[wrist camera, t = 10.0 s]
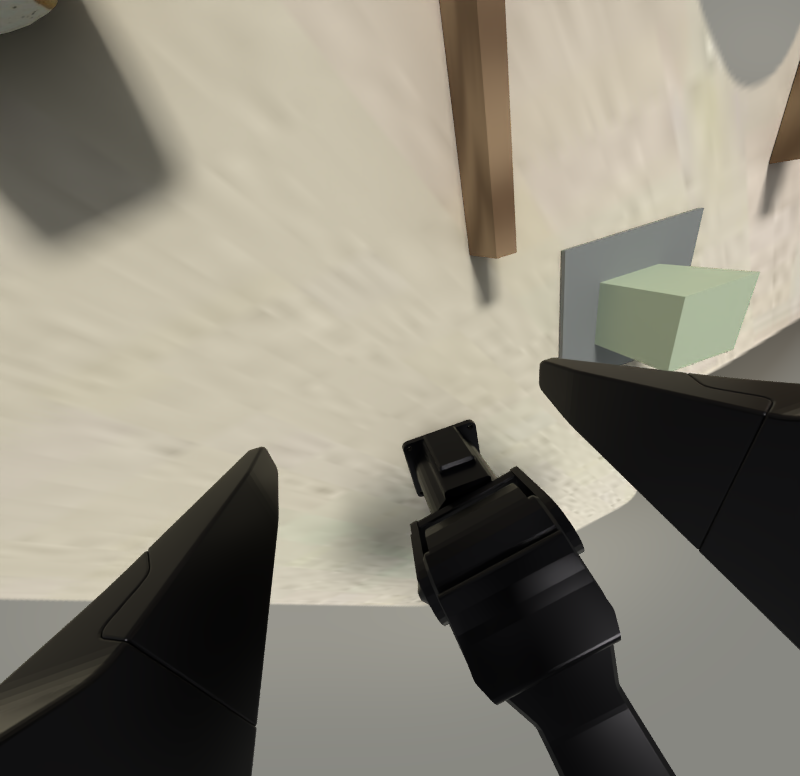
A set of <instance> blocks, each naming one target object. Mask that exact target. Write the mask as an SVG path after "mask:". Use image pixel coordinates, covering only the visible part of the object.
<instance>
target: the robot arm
mask: <svg viewBox="0 0 800 776" xmlns="http://www.w3.org/2000/svg"><path fill="white" fill-rule="evenodd" d="M539 385H540V388H541V390H542V391H543V393H544V394H545V395H546V396H547V398H548V399H549V400H550V401H551V402H552V404H553V405H554V406H555V407H556V408H557V410H558V411H559V412H560V413H561V414H562V416H563V417H564V418H565V419H566V420H567V422H568V423H569V424H570V425H571V426H572V427H573V428H574V429H575V430H576V431H577V432H578V433H579V434H580V435H581V436H582V437H583V438H584V439H585V440H586V441H587V442H588V443H589V444H590V445H591V446H593V447H594V448H595V449H596V450H597V451H598V452H599V453H600V454H601V455H602V456H603V457H604V458H605V459H606V460H607V461H608V462H609V463H610V464H611V465H612V466H613V467H614V468H615V469H616V470H617V471H618V472H619V473H620V474H621V475H622V476H623V477H624V478H625V479H626V480H627V481H628V482H629V483H630V484H631V485H632V486H633V487H634V488H635V489H636V490H637V491H638V492H639V493H640V494H642V495H643V496H644V497H645V498H646V499H647V500H648V501H649V502H650V503H651V504H652V505H653V506H654V507H655V508H656V509H657V510H658V511H659V512H660V513H661V514H662V515H663V516H664V517H665V518H666V519H667V520H668V521H669V522H670V523H671V524H672V525H673V526H674V527H675V528H676V529H677V530H678V531H679V532H680V533H681V534H682V535H683V536H684V537H685V538H687V540H688V541H690V542H691V543H692V544H693V545H694V546H695V547H696V548H697V549H699V551H700V553H701V554H702V555H704V556H705V557H706V558H707V559H708V560H709V561H710V562H711V563H712V564H713V565H714V566H715V567H716V568H717V569H718V570H719V571H720V572H721V573H722V574H723V575H724V576H725V577H726V578H727V579H728V580H729V581H730V582H731V583H732V584H733V585H734V586H735V587H736V588H737V589H738V590H739V591H740V592H741V593H742V594H743V595H744V596H745V597H746V598H747V599H748V600H749V601H750V602H752V604H754V605H755V606H756V607H757V608H758V609H759V610H760V611H761V612H762V613H763V614H764V615H765V616H766V617H767V618H768V619H769V620H770V621H771V622H772V623H773V624H774V625H775V626H776V627H777V628H778V629H779V630H780V631H781V632H782V633H783V634H784V635H785V636H786V637H787V638H789V640H790V641H791V642H792V643H793V644H794V645H795V646H796V647H797V648H798V649H799V650H800V384H798V383H784V382H773V381H761V380H750V379H738V378H728V377H719V376H709V375H701V374H692V373H689V374H687V373H683V372H674V371H666V370H657V369H649V368H640V367H631V366H623V365H614V364H605V363H597V362H588V361H579V360H571V359H562V358H550V359H547V360H544V361H542V362H541V363H540V369H539ZM468 425H470V426H469V427H468ZM408 446H411V447H410V448H407V447H408ZM402 448H403V451H404V454H405V457H406V460H407V464H408V467H409V470H410V473H411V476H412V479H413V482H414V485H415V489H416V492H417V494H418V496H420V497H422V496H425V499H426V501H427V504H428V507H429V509H430V512H431V514H430V515H429V516H427V517H425V518H423V519H421V520H419V521H415V522H413V523H411V524H410V526H411V533H412V534H411V541H412V548H413V554H414V561H415V568H416V575H417V580H418V594H419V597H420V599H421V600H422V601H423V602H425V603H427V604H429V605H430V607H431V608H432V610H433V612H434V614H435V615H436V617H437V619H438V620H439V621H440V623H441V624H442V625H444V626H445V625H448V624H450V627H451V629H452V631H453V633H454V635H455V638H456V640H457V642H458V644H459V646H460V649H461V651H462V653H463V655H464V657H465V660H466V662H467V664H468V667H469V669H470V671H471V674H472V677H473V679H474V681H475V683H476V684H477V686H478V687H479V688H480V689H481V690H482V691H483V692H484V693H485V694H486V695H487V696H488V697H489V699H490V700H491V701H492V702H493V703H494V704H496V705H498V704H500V703H502V702H504V701H507V702H508V703H509V704H510V705H511V706H512V707H513V708H515V709H516V710H517V711H518V712H519V713H520V714H522V715H523V716H524V717H525V718H526V719H527V720H528V721H529V722H531V723H532V724H533V725H534V726H535V727H536V729H537V730H538V732H539V734H540V736H541V738H542V740H543V742H544V744H545V746H546V748H547V751H548V752H549V755H550V757H551V759H552V761H553V763H554V765H555V767H556V769H557V771H558V774H559V776H676V775H675V774H674V772H673V770H672V769H671V767H670V766H669V764H668V762H667V761H666V759H665V758H664V756H663V754H662V753H661V751H660V749H659V748H658V746H657V745H656V743H655V741H654V740H653V738H652V737H651V735H650V733H649V732H648V730H647V728H646V727H645V725H644V724H643V722H642V720H641V719H640V717H639V716H638V714H637V713H636V711H635V709H634V708H633V706H632V704H631V703H630V701H629V699H628V698H627V696H626V695H625V693H624V691H623V690H622V688H621V686H620V684H619V680H618V673H617V666H616V659H615V653H614V646H613V644H615V643H617V642H619V641H620V640H621V635H620V631H619V627H618V623H617V619H616V615H615V611H614V609H613V607H612V606H611V604H610V603H609V602H608V600H607V599H606V597H605V595H604V593H603V592H602V590H601V588H600V587H599V586H598V584H597V582H596V581H595V579H594V578H593V576H592V575H591V573H590V572H589V570H588V568H587V567H586V565H585V564H584V562H583V561H582V559H581V558H580V556H579V554H581V553H582V552H584V547H583V544H582V542H581V540H580V538H579V536H578V534H577V533H576V531H575V529H574V528H573V526H572V525H571V523H570V521H569V520H568V519H567V517H566V516H565V514H564V513H563V512H562V511H561V509H560V508H559V507H558V505H557V504H556V503H555V502H554V501H553V500H552V499H551V498H550V497H549V496H548V495H547V494H546V493H545V492H544V491H543V490H542V489H541V488H540V487H539V486H538V485H537V484H536V483H534V482H533V481H532V480H531V479H530V478H529V477H528V476H527V475H526V474H525V473H524V472H523V471H522V470H520V469H519V468H518V467H517V466H516V467H514V468H512V469H510V471H509V472H508V473H506V474H504V475H502V476H500V477H498V478H497V477H496V476H495V474H494V473H493V472H492V470H491V469H490V467H489V466H488V465H487V463H486V462H485V460H484V459H483V458H482V456H481V455H480V451H479V444H478V438H477V431H476V425H475V423H474V422H473V421H472V420H466V421H463V422H460V423H457V424H455V425H452V426H449V427H446V428H443V429H440V430H438V431H435V432H432V433H429V434H426V435H423V436H421V437H418V438H415V439H412V440H409V441H406V442H405V443H404V444H403V446H402ZM278 518H279V506H278V471H277V467H276V465H275V463H274V462H273V460H272V458H271V456H270V454H269V453H268V451H267V449H266V448H265V447H259V448H255V449H252V450H249V451H248V452H247V453H246V454H245V455H244V456H243V457H242V458H241V459H240V460H239V461H238V462H237V463H236V464H235V465H234V466H233V467H232V468H231V469H230V470H229V471H228V472H227V473H226V474H224V475H223V476H222V477H221V478H220V479H219V480H218V481H217V482H216V483H215V484H214V485H213V486H212V487H211V488H210V489H209V490H208V491H207V492H206V493H205V494H204V495H203V496H202V497H201V498H200V499H199V500H198V501H197V502H196V503H195V504H194V505H193V506H192V507H191V508H190V509H189V510H188V511H187V512H186V513H184V514H183V515H182V516H181V517H180V518H179V519H178V520H177V521H176V522H175V523H174V524H173V525H172V526H171V527H170V528H169V529H168V530H167V531H166V532H165V533H164V534H163V535H162V536H161V537H160V538H159V539H158V540H157V541H156V542H155V543H154V544H153V545H152V546H151V547H150V548H149V549H148V551H146V552H144V553H143V554H142V555H141V556H140V557H139V558H138V559H137V560H136V561H135V562H134V563H133V564H132V565H131V566H130V567H129V568H128V569H127V570H126V571H125V572H124V573H123V574H122V575H121V576H120V577H118V578H117V579H116V580H115V581H114V582H113V583H112V584H111V585H110V586H109V587H108V588H107V589H106V590H105V591H104V592H103V593H101V594H100V595H99V596H98V597H97V598H96V599H95V600H94V601H93V602H91V604H89V605H88V606H87V607H86V608H85V609H84V610H83V611H82V612H80V613H79V614H78V615H77V616H76V617H75V618H74V619H73V620H72V621H70V623H68V624H67V625H66V626H65V627H64V628H63V629H62V630H61V631H60V632H58V633H57V634H56V635H55V636H54V637H53V638H52V639H50V640H49V641H48V642H47V643H46V644H45V645H44V646H42V647H41V648H40V649H39V650H38V651H37V652H36V653H35V654H34V655H32V656H31V657H30V658H29V659H28V660H27V661H26V662H25V663H23V664H22V665H21V666H20V667H19V668H18V669H17V670H16V671H14V672H13V673H12V674H11V675H10V676H9V677H8V678H7V679H6V680H4V681H3V682H2V683H1V684H0V776H251V775H252V766H253V756H254V746H255V737H256V727H255V726H256V724H257V716H258V707H259V698H260V689H261V679H262V670H263V661H264V651H265V642H266V633H267V624H268V614H269V605H270V596H271V586H272V577H273V568H274V558H275V549H276V540H277V531H278Z"/></svg>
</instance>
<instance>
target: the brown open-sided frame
mask: <svg viewBox="0 0 800 776" xmlns="http://www.w3.org/2000/svg"><path fill="white" fill-rule="evenodd" d="M439 1H440V10H441V18H442V26H443V35H444V43H445V52H446V60H447V68H448V77H449V85H450V93H451V102H452V110H453V119H454V127H455V135H456V144H457V152H458V160H459V169H460V177H461V185H462V194H463V202H464V211H465V219H466V227H467V236H468V244H469V252H470V255H473V256H481V257H489V258H500V257H503V256H507V255H510V254H513V253H516V252H517V249H516V228H515V206H514V185H513V163H512V142H511V120H510V99H509V77H508V56H507V34H506V13H505V0H439ZM796 159H800V64H799V67H798V70H797V74H796V77H795V80H794V84H793V87H792V90H791V93H790V97H789V100H788V103H787V107H786V110H785V113H784V117H783V120H782V123H781V126H780V130H779V133H778V136H777V140H776V143H775V146H774V150H773V153H772V156H771V159H770V163H769V164H771V163H777V162H783V161H790V160H796Z"/></svg>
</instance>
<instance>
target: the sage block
mask: <svg viewBox="0 0 800 776" xmlns="http://www.w3.org/2000/svg"><path fill="white" fill-rule="evenodd" d="M759 273H760V272H754V271H742V270H730V269H717V268H705V267H693V266H680V265H668V264H657V265H654V266H650V267H647V268H644V269H641V270H638V271H635V272H632V273H629V274H625V275H622V276H619V277H616V278H613V279H610V280H607V281H604V282H601V283H600V289H599V301H598V312H597V323H596V334H595V344H596V345H598V346H601V347H603V348H606V349H608V350H611V351H614V352H616V353H619V354H621V355H624V356H626V357H629V358H631V359H634V360H636V361H639V362H641V363H644V364H646V365H649V366H651V367H654V368H656V369H659V370H666V371H674V370H677V369H680V368H683V367H686V366H688V365H691V364H694V363H697V362H700V361H702V360H705V359H708V358H711V357H714V356H717V355H719V354H722V353H725V352H728V351H731V350H733V349H734V346H735V343H736V340H737V337H738V334H739V331H740V328H741V325H742V323H743V320H744V317H745V314H746V311H747V308H748V305H749V302H750V299H751V296H752V293H753V291H754V288H755V285H756V282H757V279H758V276H759Z"/></svg>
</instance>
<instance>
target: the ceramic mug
mask: <svg viewBox="0 0 800 776" xmlns="http://www.w3.org/2000/svg"><path fill="white" fill-rule="evenodd" d="M57 1H58V0H0V34H4V33H9V32H12V31H14V30H17V29H20V28H23V27H26V26H28V25H31V24H32V23H34V22H35V21H36V20H38V19H39V18H41V17H43V16H44V15H46V14H48V13H49V12H50V11H51V10H52V9H53V8H54V7H55V6H56V4H57Z"/></svg>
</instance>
